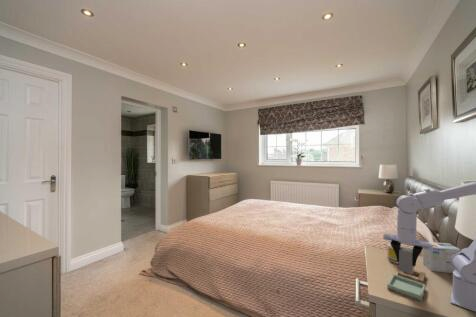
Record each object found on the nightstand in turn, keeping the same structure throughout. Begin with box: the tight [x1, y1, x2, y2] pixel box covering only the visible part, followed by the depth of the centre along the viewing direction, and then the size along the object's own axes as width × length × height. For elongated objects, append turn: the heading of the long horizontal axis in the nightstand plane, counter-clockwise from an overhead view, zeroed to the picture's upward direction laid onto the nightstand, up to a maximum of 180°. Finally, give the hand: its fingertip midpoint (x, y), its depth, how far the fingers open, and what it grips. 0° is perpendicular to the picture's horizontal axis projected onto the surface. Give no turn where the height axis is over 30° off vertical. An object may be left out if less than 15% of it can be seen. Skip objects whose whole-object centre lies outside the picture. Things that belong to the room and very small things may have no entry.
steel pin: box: [398, 246, 415, 275], centre depth 82 cm, size 4×4×8 cm
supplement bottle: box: [386, 240, 402, 264], centre depth 103 cm, size 5×5×10 cm
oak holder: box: [397, 269, 426, 284], centre depth 90 cm, size 8×8×2 cm
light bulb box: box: [422, 241, 461, 274], centre depth 96 cm, size 11×7×11 cm, turn 77°
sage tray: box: [386, 273, 426, 303], centre depth 82 cm, size 10×10×2 cm
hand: (406, 263), depth 81 cm, fingers closed on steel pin, 4 cm apart
